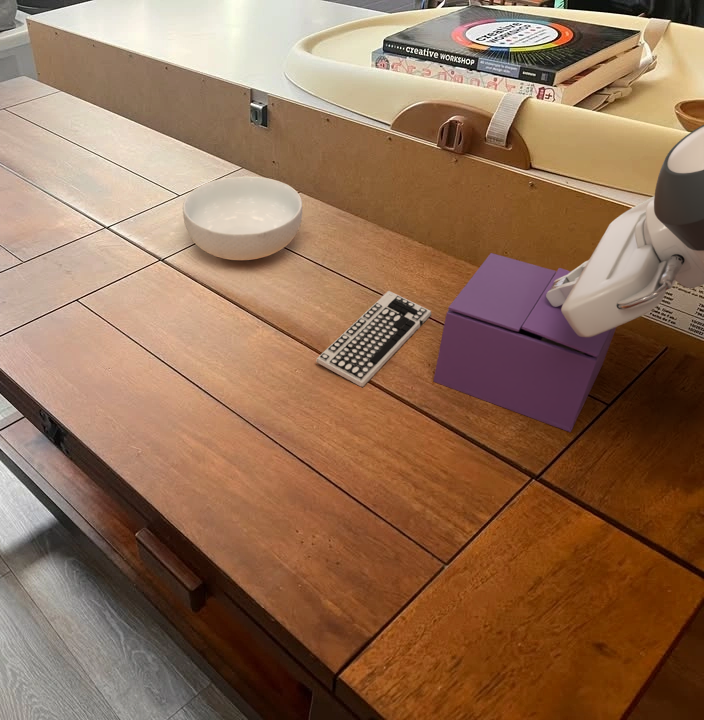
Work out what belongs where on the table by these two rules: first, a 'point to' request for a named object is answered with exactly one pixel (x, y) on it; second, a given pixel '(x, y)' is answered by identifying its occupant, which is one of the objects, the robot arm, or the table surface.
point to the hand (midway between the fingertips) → (552, 294)
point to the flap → (560, 324)
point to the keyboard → (374, 338)
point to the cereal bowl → (242, 217)
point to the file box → (512, 347)
